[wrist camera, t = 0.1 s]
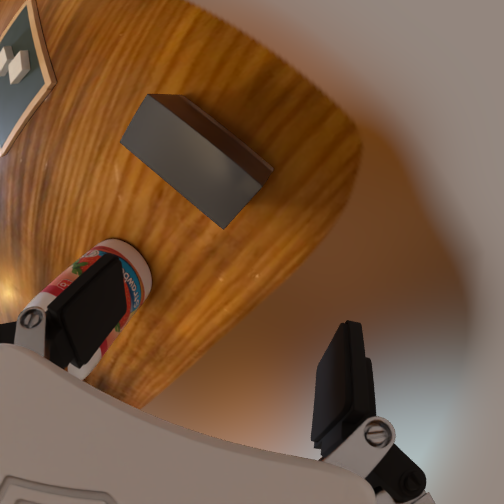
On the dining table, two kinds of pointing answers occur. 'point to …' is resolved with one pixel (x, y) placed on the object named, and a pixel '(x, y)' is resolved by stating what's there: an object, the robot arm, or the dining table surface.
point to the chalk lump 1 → (5, 59)
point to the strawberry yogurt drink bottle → (134, 283)
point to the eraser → (196, 156)
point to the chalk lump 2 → (19, 67)
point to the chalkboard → (33, 83)
